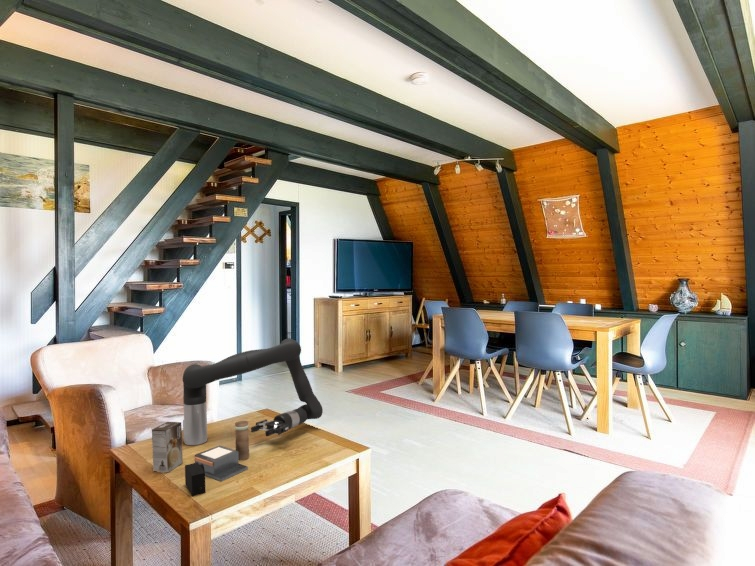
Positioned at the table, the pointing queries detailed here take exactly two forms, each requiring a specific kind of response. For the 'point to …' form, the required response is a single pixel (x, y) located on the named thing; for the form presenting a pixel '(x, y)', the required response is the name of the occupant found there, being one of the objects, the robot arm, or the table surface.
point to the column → (242, 439)
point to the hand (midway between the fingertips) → (258, 431)
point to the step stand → (220, 462)
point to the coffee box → (167, 446)
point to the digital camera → (195, 478)
